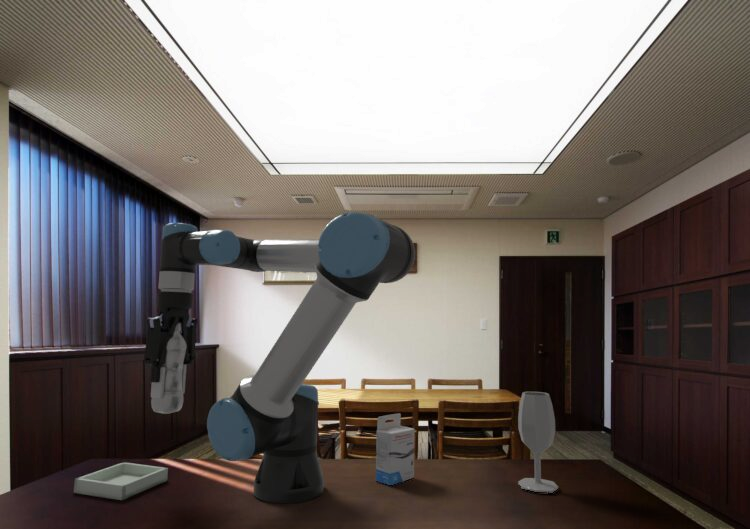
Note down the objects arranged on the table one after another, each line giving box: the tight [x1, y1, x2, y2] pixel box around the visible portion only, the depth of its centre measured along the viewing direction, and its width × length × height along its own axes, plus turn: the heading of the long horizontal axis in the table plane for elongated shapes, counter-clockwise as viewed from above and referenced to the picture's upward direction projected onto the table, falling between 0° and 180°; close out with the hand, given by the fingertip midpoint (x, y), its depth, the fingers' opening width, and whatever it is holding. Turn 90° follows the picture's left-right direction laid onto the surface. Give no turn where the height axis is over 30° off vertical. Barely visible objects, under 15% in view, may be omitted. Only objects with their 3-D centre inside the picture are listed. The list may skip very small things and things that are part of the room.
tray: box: [73, 461, 169, 501], centre depth 106 cm, size 13×13×3 cm
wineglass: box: [517, 391, 559, 494], centre depth 110 cm, size 9×9×21 cm
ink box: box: [375, 412, 416, 486], centre depth 113 cm, size 8×5×15 cm, turn 134°
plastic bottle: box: [150, 323, 187, 415], centre depth 107 cm, size 6×7×20 cm
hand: (168, 395), depth 106 cm, fingers closed on plastic bottle, 6 cm apart
